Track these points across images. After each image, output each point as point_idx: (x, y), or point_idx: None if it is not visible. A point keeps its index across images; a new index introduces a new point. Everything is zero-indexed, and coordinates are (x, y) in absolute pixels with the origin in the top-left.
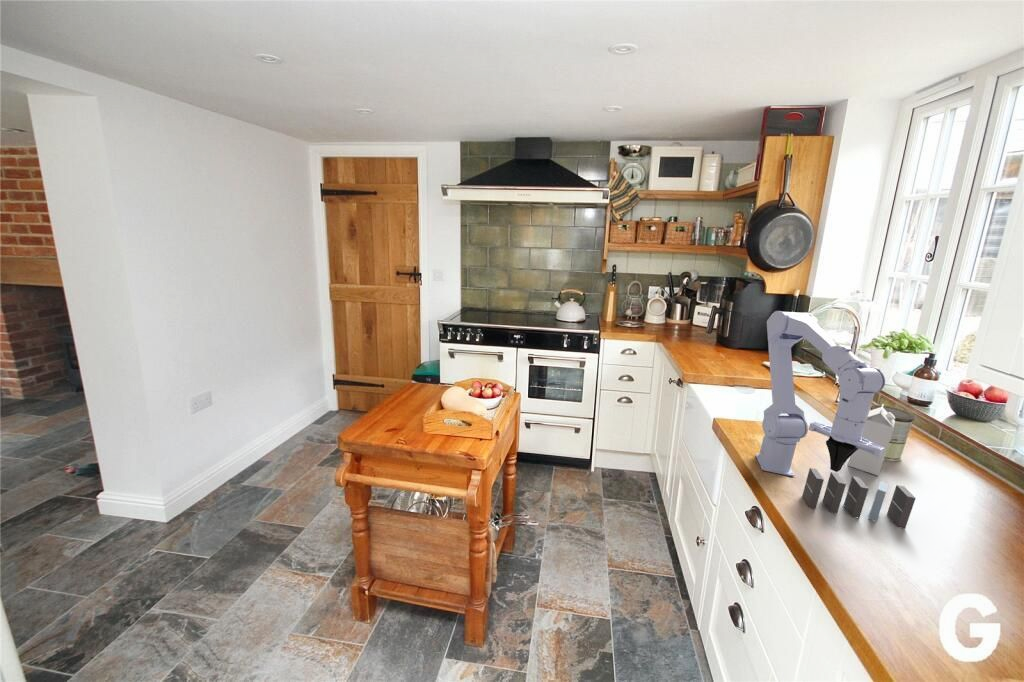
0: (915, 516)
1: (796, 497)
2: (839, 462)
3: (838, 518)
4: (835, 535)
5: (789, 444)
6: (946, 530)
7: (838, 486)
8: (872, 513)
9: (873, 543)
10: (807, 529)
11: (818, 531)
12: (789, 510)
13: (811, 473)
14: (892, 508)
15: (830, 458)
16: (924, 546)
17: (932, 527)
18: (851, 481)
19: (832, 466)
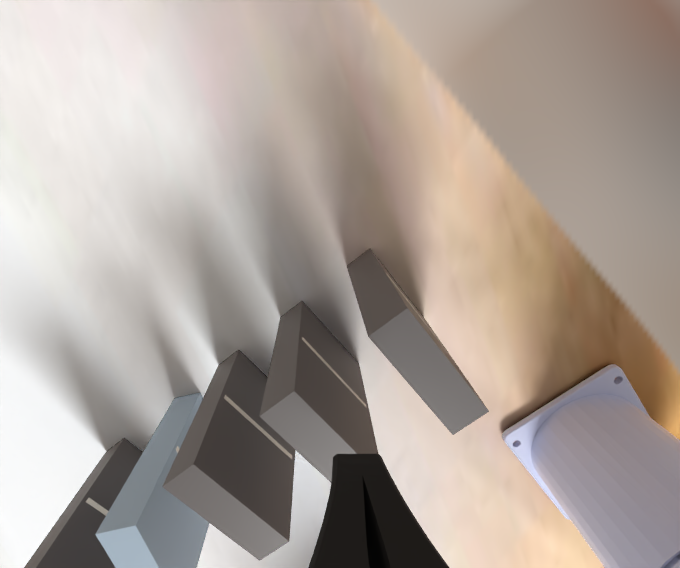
0: None
1: (435, 282)
2: (330, 533)
3: (260, 284)
4: (196, 117)
5: (673, 562)
6: None
7: (292, 377)
8: (182, 414)
9: (91, 223)
10: (287, 26)
11: (251, 67)
12: (411, 127)
13: (456, 368)
14: None
15: (421, 534)
16: (8, 395)
17: None
18: (285, 506)
19: (373, 475)
